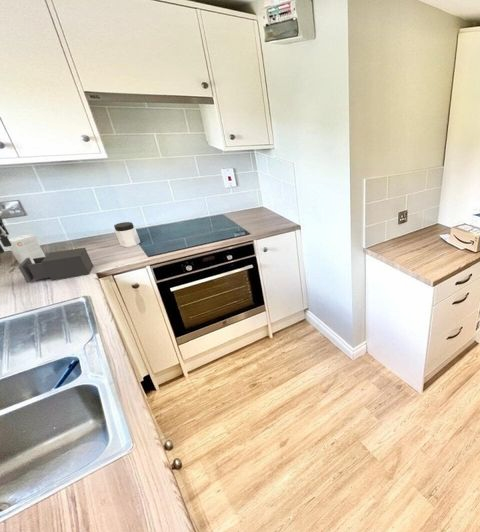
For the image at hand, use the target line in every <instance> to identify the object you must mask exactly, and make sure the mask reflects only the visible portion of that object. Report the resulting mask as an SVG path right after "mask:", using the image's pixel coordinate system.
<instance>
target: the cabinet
mask: <svg viewBox="0 0 480 532" xmlns="http://www.w3.org/2000/svg"><path fill="white" fill-rule="evenodd" d="M45 256H46V257H45V258H44V259H43V261H42V263H43V265H44V267H45V269H46V271H47V273H48V274H49V276H50V280H51V281H52V282H53V281H59V280H66V279H71V278H77V277H83V276H88V275H90V273H91V271H92V270H93V268H94V264H93V262H92V259H91V257H90V255H89V253H88V251H87V248H86V247H80V248H73V249H72V248H70V249H65V250H57V251H51V252H48V253H47V255H45ZM82 275H83V276H82Z"/></svg>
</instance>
